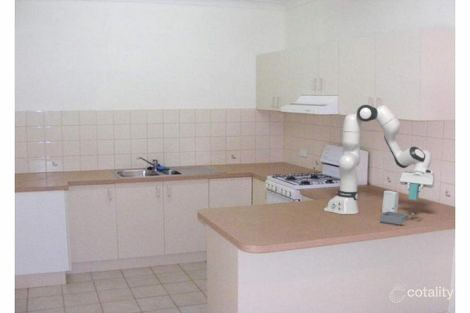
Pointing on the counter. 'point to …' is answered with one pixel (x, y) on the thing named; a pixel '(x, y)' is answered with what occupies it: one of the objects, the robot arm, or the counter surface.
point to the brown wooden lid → (414, 218)
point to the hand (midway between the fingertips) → (413, 190)
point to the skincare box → (390, 201)
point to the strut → (413, 191)
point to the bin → (393, 218)
